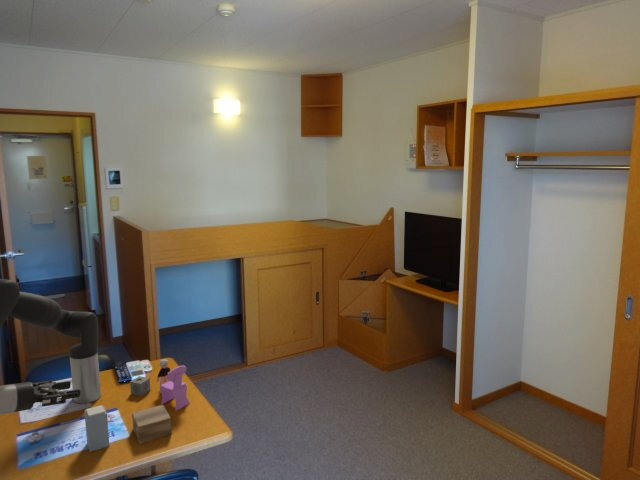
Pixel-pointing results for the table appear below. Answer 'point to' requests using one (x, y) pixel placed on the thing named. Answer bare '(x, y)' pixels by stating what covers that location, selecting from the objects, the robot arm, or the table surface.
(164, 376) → the grandmother figurine
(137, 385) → the dice cube
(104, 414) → the slate-blue canister
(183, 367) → the toy chair
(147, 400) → the table surface
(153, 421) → the walnut block
